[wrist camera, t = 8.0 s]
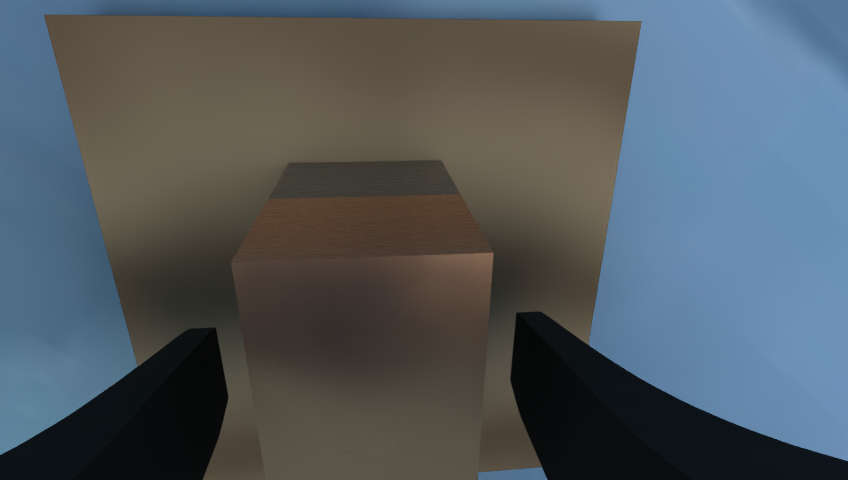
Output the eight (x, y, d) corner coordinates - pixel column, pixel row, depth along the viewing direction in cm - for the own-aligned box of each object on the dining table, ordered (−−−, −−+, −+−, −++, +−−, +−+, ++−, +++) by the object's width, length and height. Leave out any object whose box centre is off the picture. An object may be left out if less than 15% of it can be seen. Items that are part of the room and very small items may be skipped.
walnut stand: (545, 416, 21) (568, 464, 18) (195, 441, 19) (172, 497, 17) (598, 22, 15) (641, 21, 12) (99, 16, 13) (43, 14, 11)
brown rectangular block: (436, 397, 16) (470, 582, 11) (313, 405, 16) (285, 601, 11) (441, 160, 13) (493, 252, 8) (289, 162, 13) (231, 262, 7)
